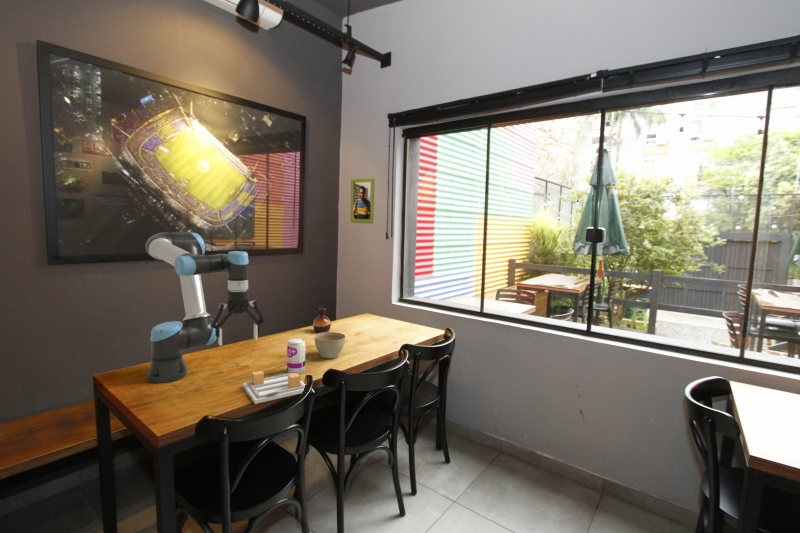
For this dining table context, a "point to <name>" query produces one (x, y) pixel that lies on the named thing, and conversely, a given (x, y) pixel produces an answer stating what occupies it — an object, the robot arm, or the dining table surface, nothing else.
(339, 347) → the planter bowl
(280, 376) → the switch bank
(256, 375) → the orange block
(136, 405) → the dining table surface
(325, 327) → the vase
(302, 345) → the supplement can
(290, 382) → the tab
